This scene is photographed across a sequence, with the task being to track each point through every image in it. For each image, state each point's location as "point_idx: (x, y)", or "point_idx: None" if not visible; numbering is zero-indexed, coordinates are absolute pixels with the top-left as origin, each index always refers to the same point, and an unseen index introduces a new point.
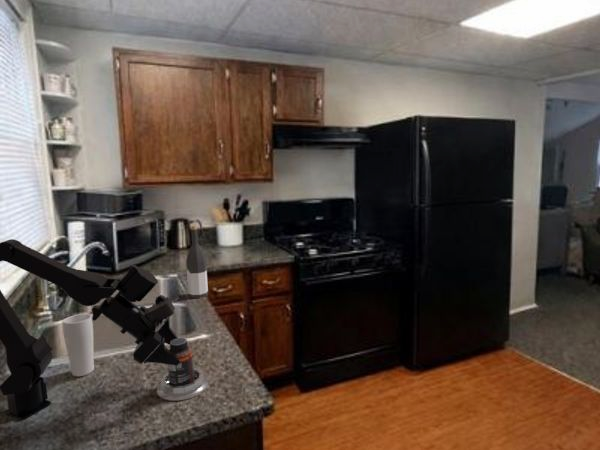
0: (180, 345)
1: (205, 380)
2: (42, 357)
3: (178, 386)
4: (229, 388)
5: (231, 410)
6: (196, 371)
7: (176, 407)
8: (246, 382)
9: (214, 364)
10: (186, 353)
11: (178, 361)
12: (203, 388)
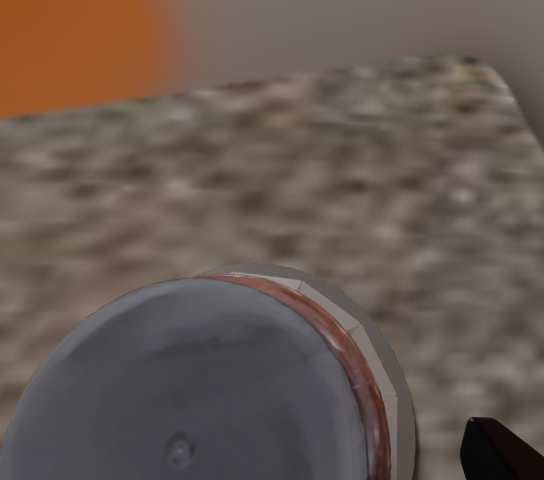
0: (356, 401)
1: None
2: None
3: None
4: (339, 172)
5: (524, 175)
6: None
7: None
8: (306, 105)
9: (60, 230)
10: (334, 329)
11: (509, 436)
12: (328, 288)
